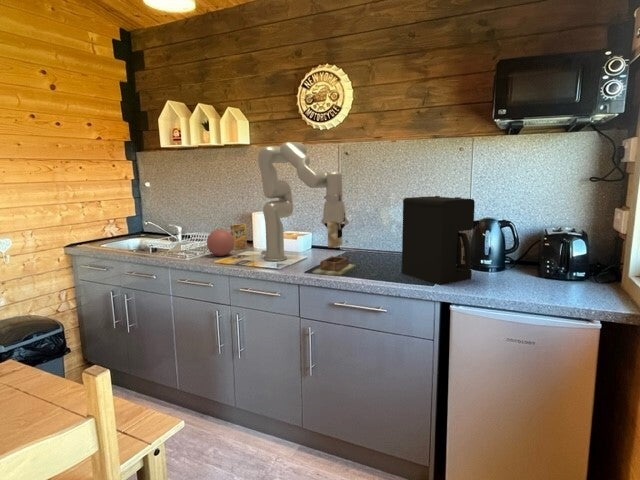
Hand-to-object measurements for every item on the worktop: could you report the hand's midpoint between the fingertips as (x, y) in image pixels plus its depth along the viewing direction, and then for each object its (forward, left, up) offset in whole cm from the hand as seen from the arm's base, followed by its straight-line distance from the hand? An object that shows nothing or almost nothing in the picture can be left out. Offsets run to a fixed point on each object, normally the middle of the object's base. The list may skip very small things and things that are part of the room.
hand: (335, 236), depth 197 cm
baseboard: (-115, +15, -17) cm, 117 cm away
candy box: (-78, +28, -16) cm, 85 cm away
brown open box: (0, 0, -16) cm, 16 cm away
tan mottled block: (0, 0, -4) cm, 4 cm away
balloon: (-74, +8, -16) cm, 77 cm away
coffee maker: (+48, +6, -16) cm, 51 cm away
